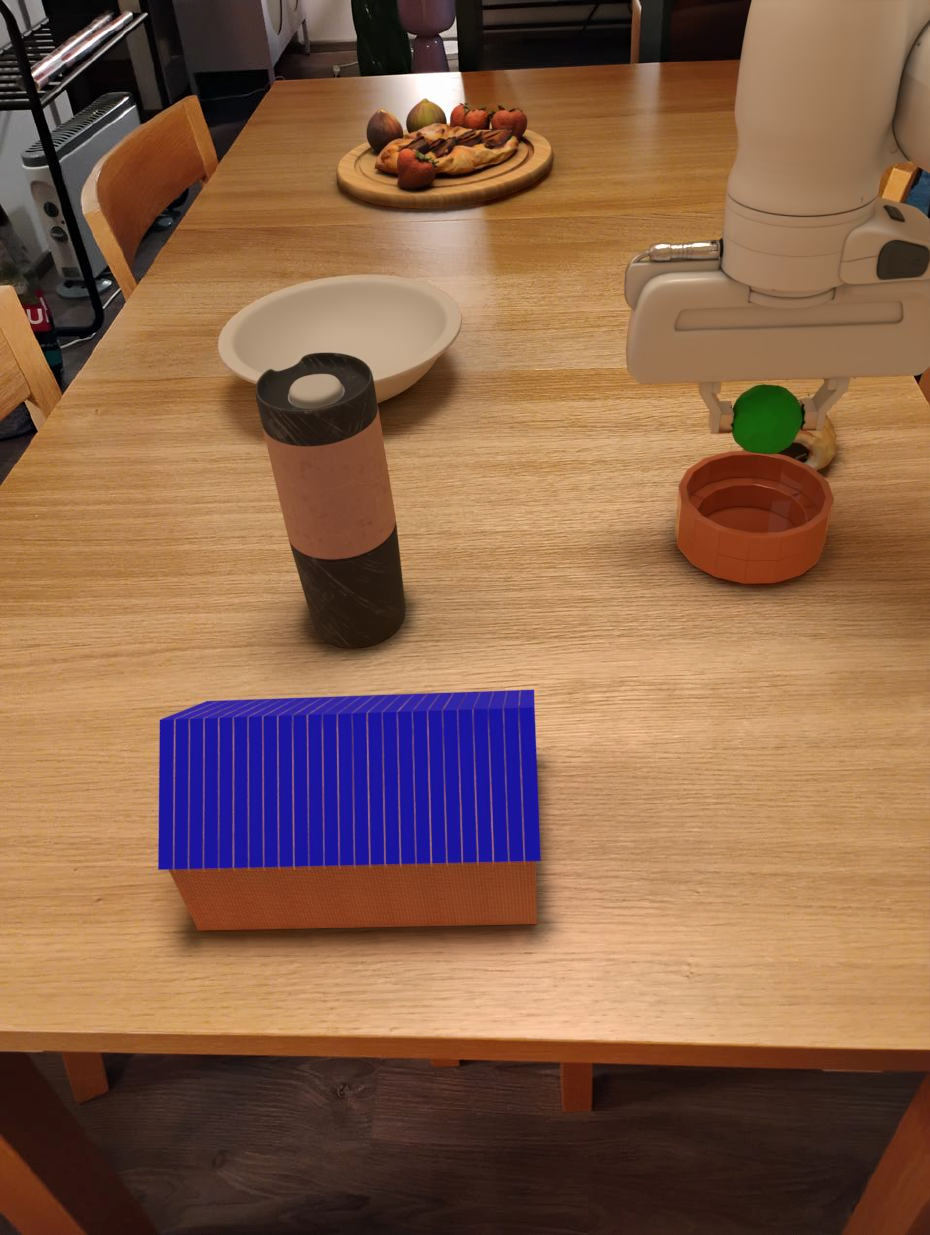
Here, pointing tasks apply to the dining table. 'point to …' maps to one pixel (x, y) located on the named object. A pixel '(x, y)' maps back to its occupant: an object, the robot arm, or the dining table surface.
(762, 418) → the polyhedron
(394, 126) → the wooden plate
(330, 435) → the travel mug
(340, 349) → the soup bowl
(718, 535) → the dessert bowl
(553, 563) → the dining table surface
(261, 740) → the house
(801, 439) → the pastry
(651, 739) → the dining table surface
